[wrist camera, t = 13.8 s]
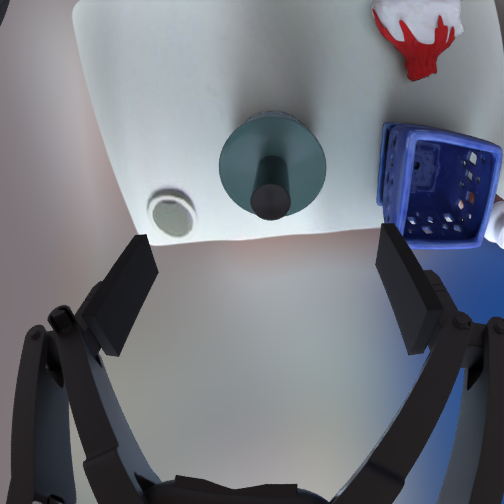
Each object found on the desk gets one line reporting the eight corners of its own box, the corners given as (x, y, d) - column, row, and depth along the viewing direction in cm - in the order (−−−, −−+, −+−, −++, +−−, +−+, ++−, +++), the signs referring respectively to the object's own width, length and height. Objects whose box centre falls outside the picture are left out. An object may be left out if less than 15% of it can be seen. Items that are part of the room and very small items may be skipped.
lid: (227, 215, 33) (211, 263, 25) (214, 120, 27) (188, 139, 19) (324, 210, 32) (338, 259, 24) (323, 113, 26) (342, 130, 18)
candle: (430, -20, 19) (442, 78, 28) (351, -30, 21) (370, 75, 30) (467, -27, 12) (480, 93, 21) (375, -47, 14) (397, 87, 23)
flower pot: (455, 122, 30) (507, 146, 20) (442, 207, 38) (482, 251, 28) (370, 110, 32) (408, 127, 22) (364, 205, 39) (390, 252, 29)
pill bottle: (450, 202, 37) (487, 240, 28) (472, 172, 34) (515, 204, 25) (470, 222, 38) (505, 261, 29) (491, 194, 35) (530, 229, 26)
